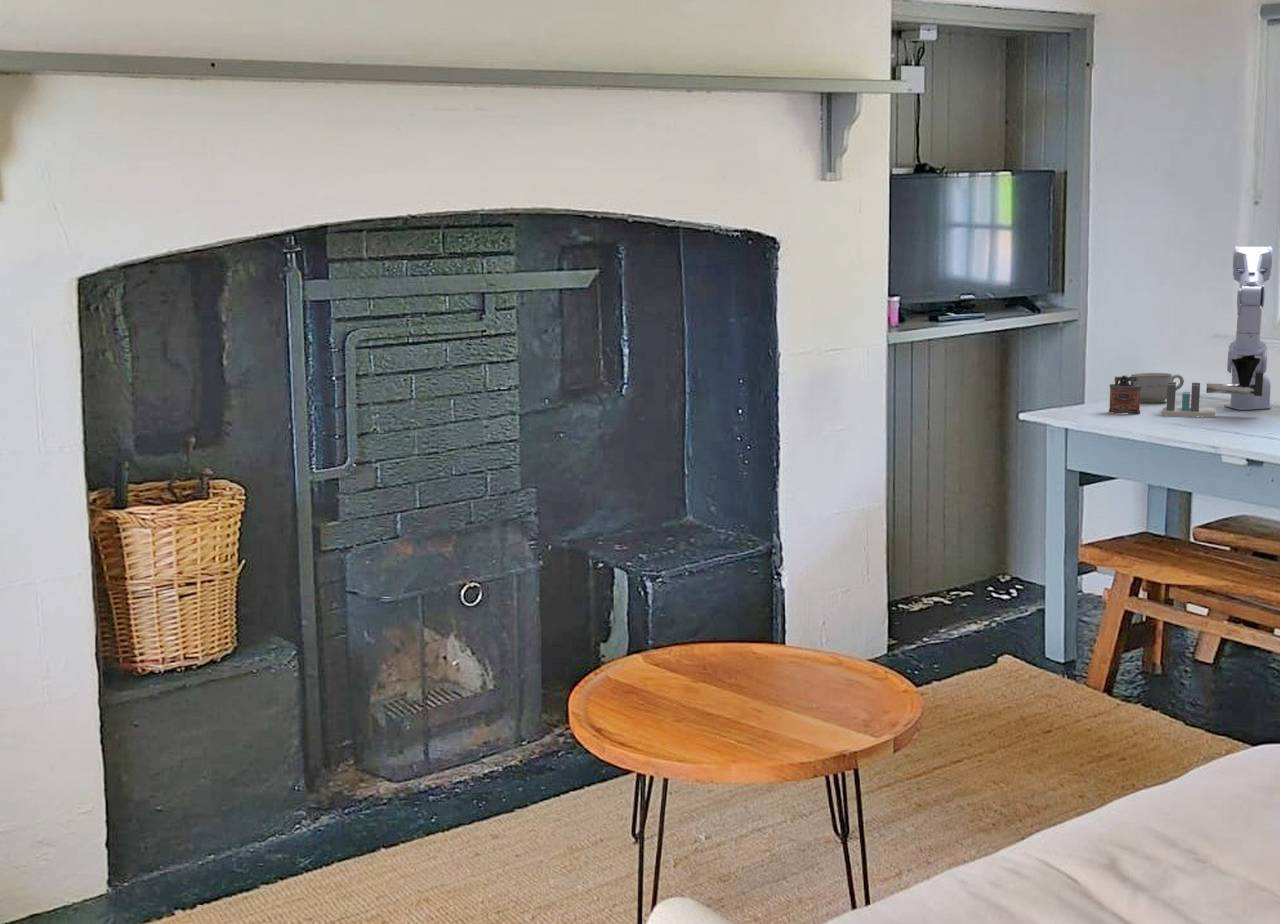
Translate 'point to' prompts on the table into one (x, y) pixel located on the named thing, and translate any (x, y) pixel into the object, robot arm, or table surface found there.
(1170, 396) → the shaft stand
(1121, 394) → the lighter
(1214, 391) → the shaft
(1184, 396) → the spacer
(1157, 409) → the table surface
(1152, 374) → the teacup
